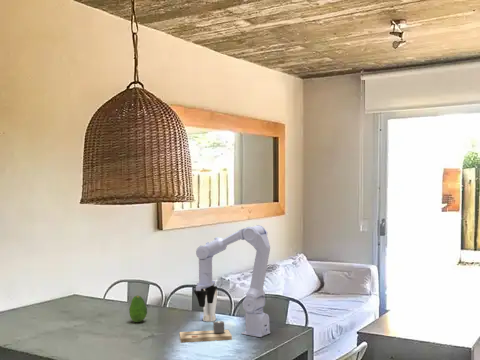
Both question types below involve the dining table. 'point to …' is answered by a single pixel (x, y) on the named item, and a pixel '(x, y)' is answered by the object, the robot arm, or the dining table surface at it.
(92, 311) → the dining table surface
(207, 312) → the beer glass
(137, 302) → the avocado
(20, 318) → the dining table surface
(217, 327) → the fader knob
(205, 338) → the fader board
